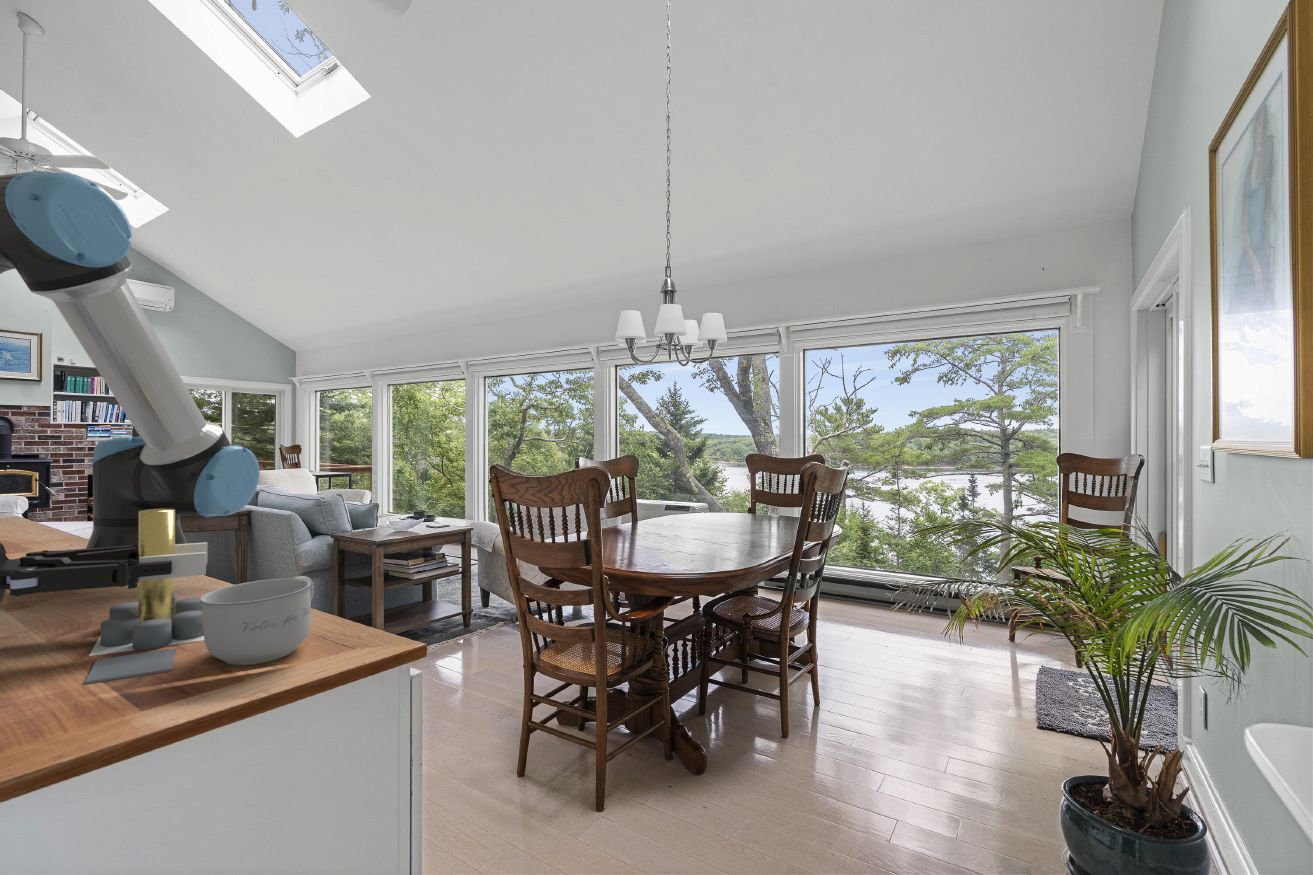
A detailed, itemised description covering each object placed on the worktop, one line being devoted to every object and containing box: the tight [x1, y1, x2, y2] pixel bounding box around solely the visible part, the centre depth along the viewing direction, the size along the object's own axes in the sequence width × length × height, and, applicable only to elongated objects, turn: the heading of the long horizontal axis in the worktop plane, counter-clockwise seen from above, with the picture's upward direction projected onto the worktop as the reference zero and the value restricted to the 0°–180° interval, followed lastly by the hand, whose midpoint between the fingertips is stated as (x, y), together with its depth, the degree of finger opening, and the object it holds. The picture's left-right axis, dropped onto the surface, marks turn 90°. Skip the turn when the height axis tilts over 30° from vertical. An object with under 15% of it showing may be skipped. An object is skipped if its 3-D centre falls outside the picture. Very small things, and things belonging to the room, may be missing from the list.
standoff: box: [137, 509, 176, 622], centre depth 81 cm, size 4×4×15 cm
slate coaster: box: [84, 648, 178, 685], centre depth 70 cm, size 7×7×1 cm
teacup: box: [200, 575, 315, 666], centre depth 76 cm, size 14×11×8 cm
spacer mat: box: [88, 593, 205, 657], centre depth 82 cm, size 17×11×3 cm, turn 33°
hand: (206, 557), depth 84 cm, fingers open, 6 cm apart
